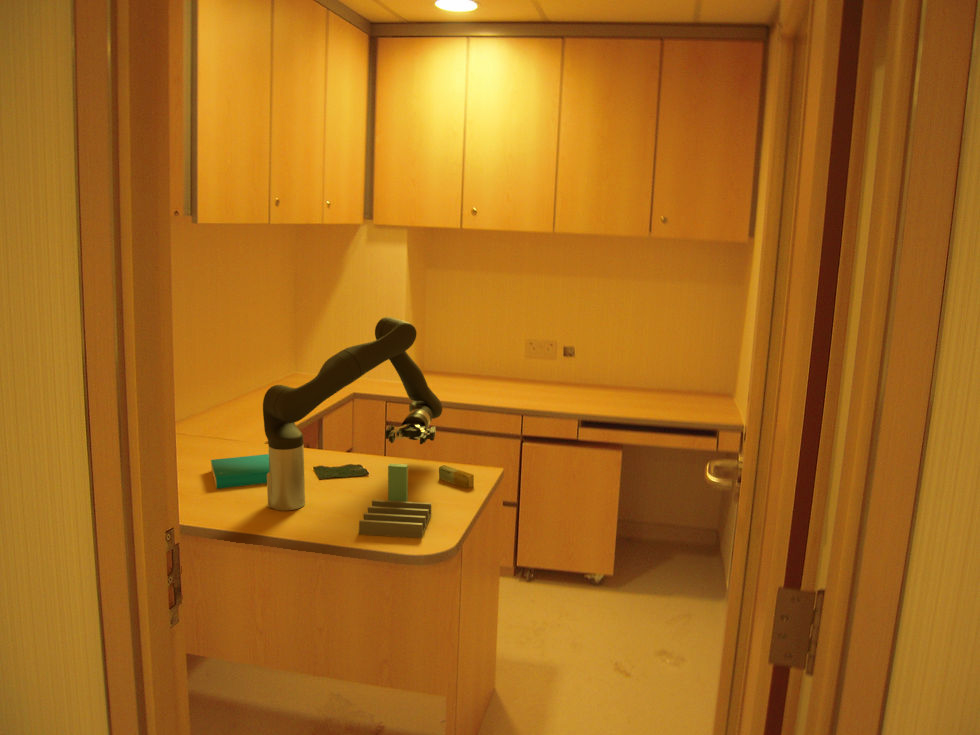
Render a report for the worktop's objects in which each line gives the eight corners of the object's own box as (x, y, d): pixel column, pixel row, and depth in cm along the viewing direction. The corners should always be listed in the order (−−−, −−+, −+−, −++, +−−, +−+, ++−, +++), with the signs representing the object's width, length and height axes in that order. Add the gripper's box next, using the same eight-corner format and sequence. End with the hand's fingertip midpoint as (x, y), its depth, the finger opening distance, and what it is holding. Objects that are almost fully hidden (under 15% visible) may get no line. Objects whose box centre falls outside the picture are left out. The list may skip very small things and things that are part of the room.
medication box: (438, 479, 250) (438, 466, 249) (444, 477, 252) (444, 464, 251) (468, 489, 243) (468, 476, 242) (474, 486, 245) (474, 473, 244)
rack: (359, 534, 209) (359, 521, 208) (372, 511, 224) (372, 499, 223) (421, 538, 208) (421, 524, 207) (431, 515, 222) (431, 502, 222)
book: (210, 459, 252) (293, 450, 262) (211, 473, 253) (293, 463, 263) (215, 478, 237) (304, 467, 246) (216, 492, 237) (304, 480, 247)
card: (388, 507, 227) (388, 465, 224) (389, 504, 229) (389, 463, 226) (406, 508, 226) (406, 466, 224) (407, 505, 228) (407, 464, 226)
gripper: (393, 411, 251) (381, 426, 235) (439, 412, 250) (431, 428, 234) (393, 434, 253) (381, 451, 237) (439, 436, 251) (431, 454, 236)
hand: (406, 440), depth 235 cm, fingers open, 8 cm apart
